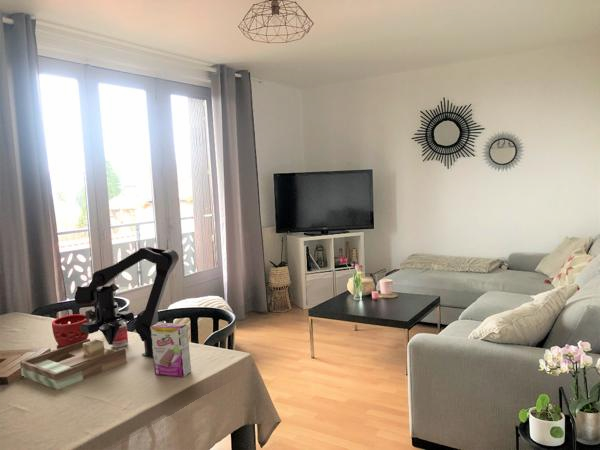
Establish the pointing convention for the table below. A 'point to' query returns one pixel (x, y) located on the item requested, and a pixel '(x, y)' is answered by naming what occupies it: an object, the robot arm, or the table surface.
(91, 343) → the maple block
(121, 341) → the pill bottle
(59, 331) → the plant pot
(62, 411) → the table surface
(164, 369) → the candy bar box
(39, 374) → the box
